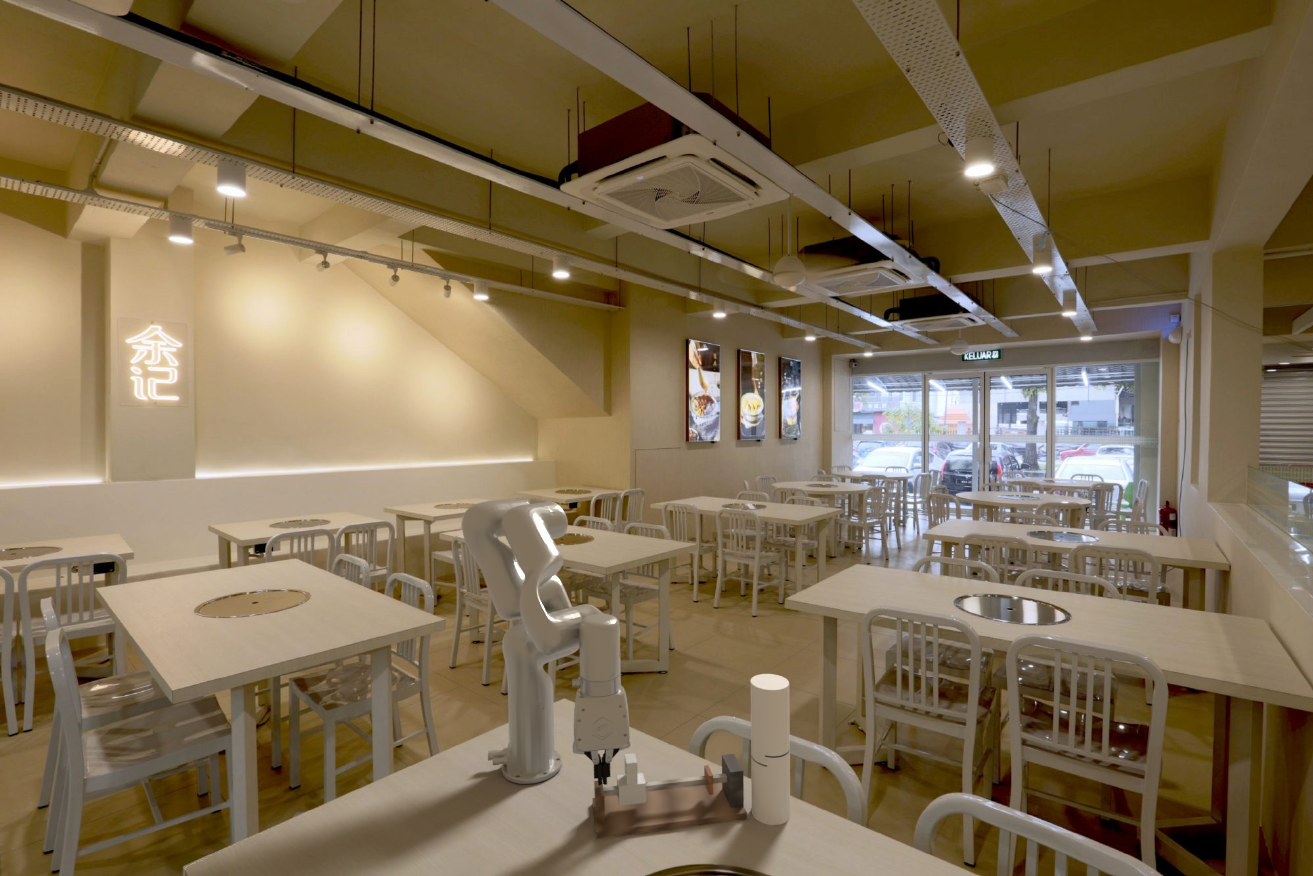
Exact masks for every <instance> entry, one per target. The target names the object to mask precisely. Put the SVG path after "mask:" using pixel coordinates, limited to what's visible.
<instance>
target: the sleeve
mask: <svg viewBox="0 0 1313 876" xmlns="http://www.w3.org/2000/svg"><path fill="white" fill-rule="evenodd" d="M636 756H637V755H636V753H635V752H634V753H627V754H624V774H617V775H616V786H618V788H619V795H617V796H618V802H619V806H622V805H630V804H638V803H646V779H645V776H644V772H638V760H637V757H636Z"/></svg>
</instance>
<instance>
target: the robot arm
mask: <svg viewBox="0 0 1313 876" xmlns="http://www.w3.org/2000/svg"><path fill="white" fill-rule="evenodd" d="M568 522H569V521H568V517H567V514H566V512H565V511H564V509H563V508H562V506H561V505H560V504H558V503H557V502H555V501H552V500H546V499H542V498H536V497H529V496H528V497H526V496H525V497H516V498H515V497H514V498H513V497H512V498H505V499H495V500H488V501H482V502H477V503H475V504H473V505H472V506H469V507H468V508H467V509H466V510H465V512H464V513H463V516H462V523H461V526H462V535H463V539H464V542H465V545H466V547H467V548H468V551H469V553H470V555H471V556H472V557H473V559H474V561H475V562H476V564H477V565H478V567H479V569H480V571H481V574H482V575H483V578H484V579H483V580H484V583H485V585H486V587H487V590H488V593H489V595H490V599H491V601H492V604H493V606H494V608H495V609H494V610H495V611H496V613H497V615H498V616H499V618H500V619H502V621H506V622H508V621H517V620H522V622H519V623H516V624H514V625H512V626H511V627H510V628H509V629H507V631H506V632H504V635H503V637H502V643H501V644H502V645H501V647H502V654H503V655H502V656H503V659H504V664H505V669H506V679H507V700H508V701H507V702H508V703H507V707H508V708H507V709H508V744H507V747H503V749H499V750H497V749H493V750H488V752H487V761H488V762H489V761H490V762H491V761H492V766H498V765H502V766H501V771H502V775H503V777H504V778H505V779H506V780H508V781H510V782H511V783H516V784H519V785H520V784H521V785H529V784H537V783H541V782H544V781H546V780H549V779H551V778H552V777H554V776H555V775H557V773H558V772H559V771H560V770H561V767H562V762H563V761H562V756H561V754H560V753H559V752H558V751H557V750H556V749H555V722H554V720H555V715H554V714H555V713H554V712H555V711H554V709H555V708H554V706H555V705H554V683H553V680H552V679H551V677H550V674H548V673H547V672H546V671H545V670H544V665H545V664H548V663H550V662H552V661H556V660H559V659H561V658H565V657H568V656H571V655H572V654H574V653H576V652H577V651H578V650H579V676H578V677H576V678H574V679H573V678H572V680H571V683H572V684H571V685H572V688H578V689H577V691H576V695H575V700H574V711H573V744H572V753H573V754H577V755H585V756H586V757H587V758H588V759H589V760H590V761H591V762H592V763H593V779H596V780H597V781H598V785H601V784H602V782H603V786H606V785H608V778H611V762H612V761H613V759H614V757H616V755H617V754H618V753H619V752H620V751H624V750H625V749H629V748H630V747H631V741H630V732H631V731H630V717H629V716H630V715H629V705H628V698H627V693H626V689H625V688H624V686H622V684H621V683H622V681H621V678H622V675H621V629H620V628H621V627H620V621H619V620H618V618H617V617H616V616H614V615H612V614H608V613H603V612H602V611H601V610H600V609H599V608H598V607H596V606H594V605H592V604H590V603H585V604H580V605H576V606H573V605H572V603H571V600H570V599H569V596H568V594H567V590H566V589H565V587H564V584H563V582H562V580H561V579H560V578H559V577H558V575H557V573H558V572H560V571H561V569H562V567H563V564H564V557H563V554H562V553H561V552H560V550H559V548H558V546H557V543H556V542H555V539H559V538H561V537H563V536H564V535H565V534H566V532H567V530H568V525H569V523H568ZM500 537H501V538H502V537H505V538H506V541H507V543H508V545H509V546H508V545H507V544H506V543H504V542H503V541H501V540H500V539H499V538H500ZM599 751H604V753H602V756H601V755H600V753H599Z"/></svg>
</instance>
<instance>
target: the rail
mask: <svg viewBox="0 0 1313 876" xmlns="http://www.w3.org/2000/svg"><path fill="white" fill-rule="evenodd" d="M703 767H704V768H703V769H704V770H703V771H704V772H703V775H700V776H699V775H698V776H692V777H681V778H675V779H673V778H672V779H665V780H656V781H649V782H646V781H645V782H646V803H638V804H630V805H622V806H619V802H618V796H617V795H619V788H618V786H617V785H614V786H613V785H612V786H605V787H604V784H603V781H602V784H601V785H598V780H594V781H593V785H594V790H593V792H594V797H592V811H593V819H594V829H595V830H594V831H595V838H596V839H597V840H598V839H605V838H615V837H619V836H620V837H621V836H627V835H628V836H629V835H637V834H643V833H651V832H659V831H667V830H673V829H674V830H675V829H683V828H690V827H699V826H706V825H713V824H721V823H729V822H730V823H731V822H737V821H745V820H748V812H747V810H746V808H745V805H744V799H745V798H744V795H745V793H744V792H745V791H744V785H745V784H744V781H745V780H744V769H743V768H742V765H741V764H740V762H739V760H738V759H737V757H736V755H735V753H729V754H728V753H727V754H722V755H721V773H718V774H717V773H716V774H713V772H712V770H711V768H710V766H709V765H708V764H707V765H704V766H703Z"/></svg>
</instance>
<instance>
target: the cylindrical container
mask: <svg viewBox="0 0 1313 876" xmlns="http://www.w3.org/2000/svg"><path fill="white" fill-rule="evenodd" d="M790 726H791V725H790V681H789V680H788V679H787V678H786V677H784V676H782V675H778V674H775V673H774V674H772V673H761V674H756V675H754V676H753V677H751V678H750V750H751V752H750V758H751V759H750V760H751V761H750V762H751V763H750V765H751V766H750V768H751V769H750V770H751V771H750V773H751V775H750V776H751V814H752V816H753V818H754V819H756V820H757V821H758V822H760V823H762V824H765V825H768V826H779V825H783V824H786V823H787V822H788V821H789V820H790V818H791V770H790V769H791V759H790V758H791V753H790V752H791V750H790V746H791V743H790V734H791V733H790Z"/></svg>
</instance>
